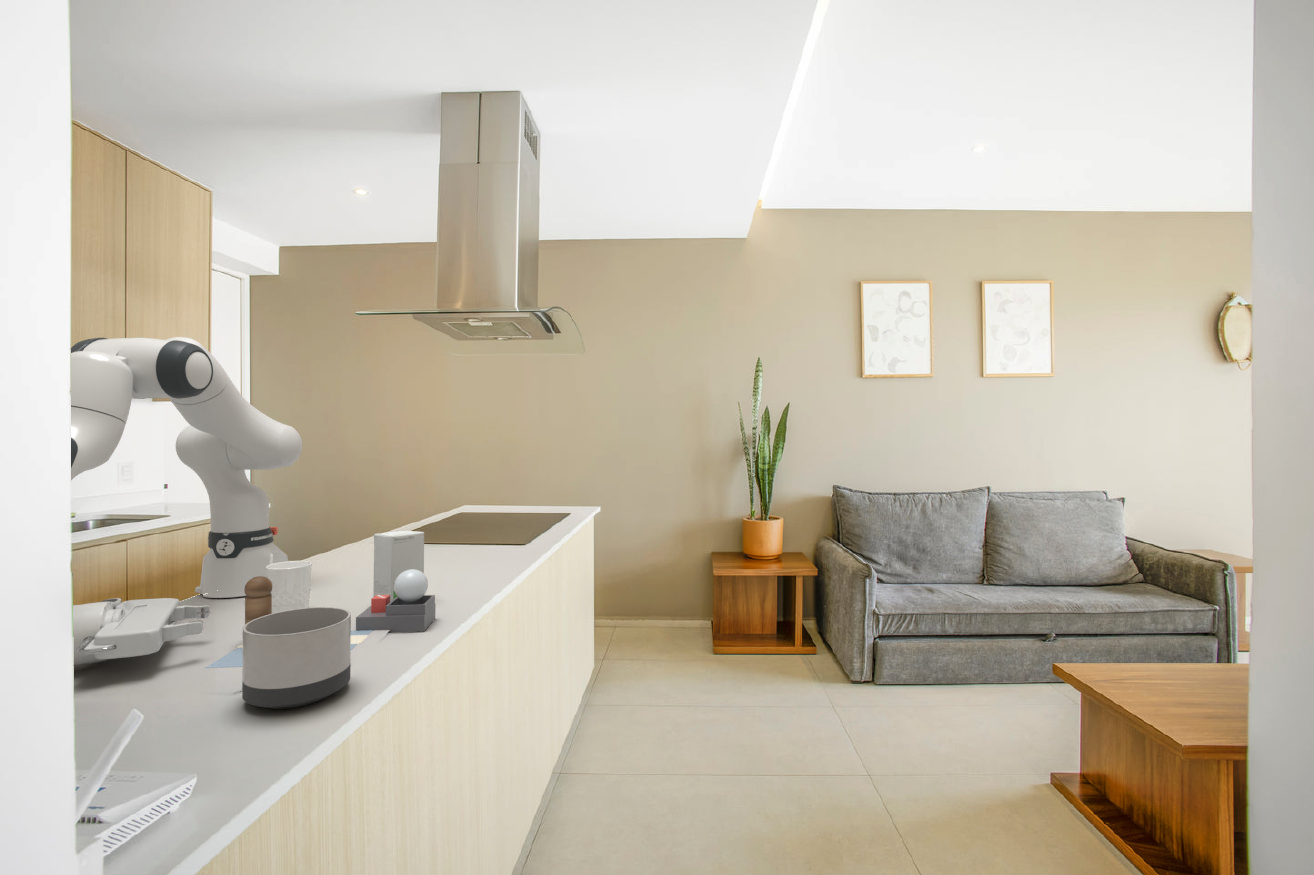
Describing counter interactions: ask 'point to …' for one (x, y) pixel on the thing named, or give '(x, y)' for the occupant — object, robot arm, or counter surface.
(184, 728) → the counter surface
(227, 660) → the board
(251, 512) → the robot arm
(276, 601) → the white cup
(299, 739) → the counter surface
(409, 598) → the ball
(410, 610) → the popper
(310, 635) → the planter
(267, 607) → the brown pepper mill
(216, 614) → the counter surface
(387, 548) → the skincare box
